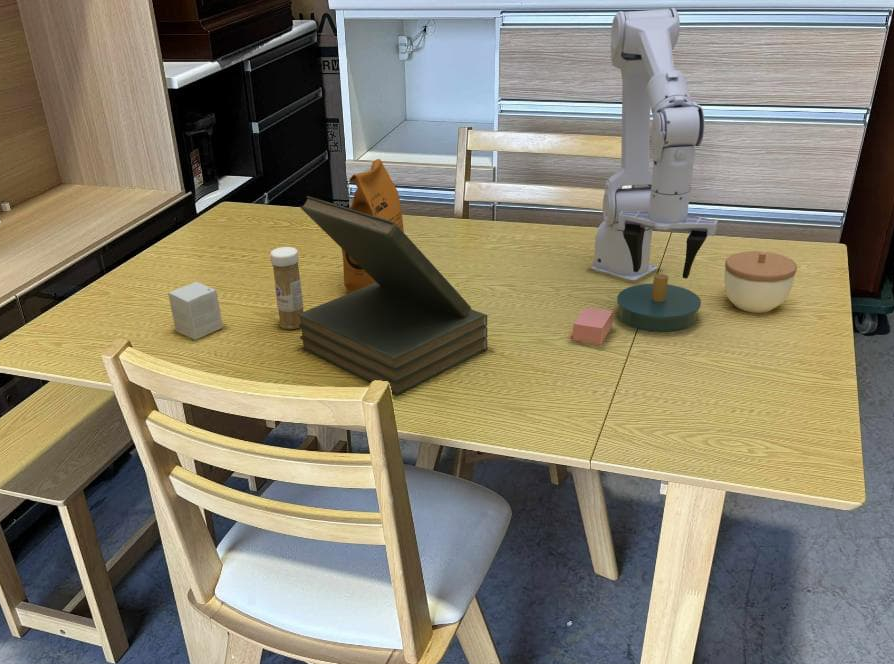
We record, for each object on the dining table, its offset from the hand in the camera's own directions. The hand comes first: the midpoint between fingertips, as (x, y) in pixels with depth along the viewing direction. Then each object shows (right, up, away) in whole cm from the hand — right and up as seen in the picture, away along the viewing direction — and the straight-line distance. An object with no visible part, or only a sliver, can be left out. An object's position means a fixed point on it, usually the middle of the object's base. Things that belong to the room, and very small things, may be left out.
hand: (661, 272), depth 139 cm
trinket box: (+17, -5, +6) cm, 19 cm away
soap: (-11, -10, 0) cm, 15 cm away
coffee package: (-46, +1, +24) cm, 52 cm away
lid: (0, -4, +2) cm, 5 cm away
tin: (0, -7, +4) cm, 8 cm away
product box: (-76, -8, +12) cm, 78 cm away
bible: (-43, -12, +1) cm, 45 cm away
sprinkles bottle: (-60, -7, +11) cm, 61 cm away
